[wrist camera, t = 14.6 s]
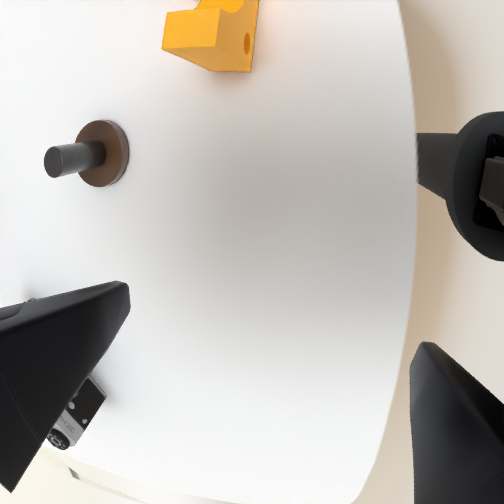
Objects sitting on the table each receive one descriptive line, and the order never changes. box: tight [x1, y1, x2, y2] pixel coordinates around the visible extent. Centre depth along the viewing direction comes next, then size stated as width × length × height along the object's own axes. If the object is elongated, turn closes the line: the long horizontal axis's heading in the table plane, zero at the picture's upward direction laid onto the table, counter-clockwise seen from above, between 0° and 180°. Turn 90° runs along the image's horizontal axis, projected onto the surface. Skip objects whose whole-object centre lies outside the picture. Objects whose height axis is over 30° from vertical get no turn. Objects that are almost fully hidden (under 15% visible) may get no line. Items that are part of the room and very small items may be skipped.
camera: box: [23, 299, 107, 450], centre depth 26 cm, size 15×11×10 cm
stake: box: [44, 120, 129, 187], centre depth 19 cm, size 5×5×5 cm
